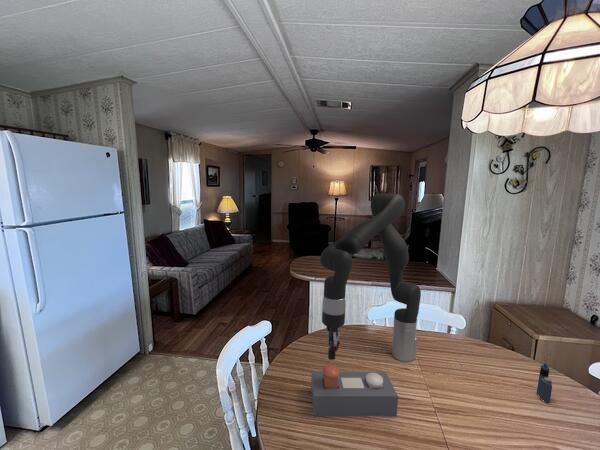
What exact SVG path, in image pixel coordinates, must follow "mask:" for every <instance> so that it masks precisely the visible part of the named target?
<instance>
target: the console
mask: <svg viewBox="0 0 600 450" xmlns="http://www.w3.org/2000/svg"><path fill="white" fill-rule="evenodd" d="M368 373H377V374H379V375H380V376H382V378H383V385H382V386H383V389H369V387H368V385H367V383H366V375H367V374H368ZM310 379H311V382H310V383H311V384H310V391H311V403H312V413H313V417H397V416H398V406H399V405H398V403H399V396H398V394H397V391H396V389H395V387H394V385H393V383H392V381H391V379H390V378H389V376H388V374H387V371H339V377H338V388H324V386H323V371H311V378H310Z"/></svg>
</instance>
